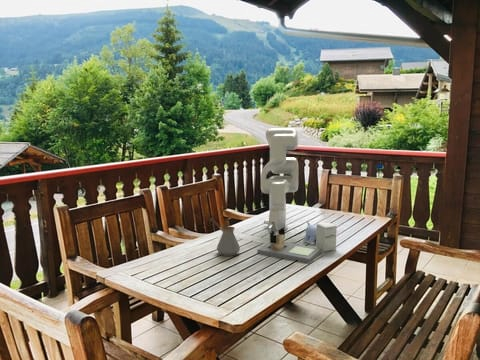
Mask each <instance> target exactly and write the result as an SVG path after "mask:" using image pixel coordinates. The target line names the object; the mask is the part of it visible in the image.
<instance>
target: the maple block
mask: <svg viewBox="0 0 480 360" xmlns="http://www.w3.org/2000/svg"><path fill="white" fill-rule="evenodd" d="M284 243H285V238H284V235H281V234H278V233H276V243H271V249H274V250H280V251H282V250H283V249H284Z"/></svg>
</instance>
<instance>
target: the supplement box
mask: <svg viewBox="0 0 480 360" xmlns="http://www.w3.org/2000/svg"><path fill="white" fill-rule="evenodd" d="M316 225H317V229H316V239H315V248H319V249H321V252H328V251H335V250H336V249H337V247H336V246H337V229H338V228H337V225H336V224H333V223H330V222H324V223H323V222H321V223H316Z"/></svg>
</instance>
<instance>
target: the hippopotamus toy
mask: <svg viewBox="0 0 480 360" xmlns="http://www.w3.org/2000/svg"><path fill="white" fill-rule="evenodd" d="M306 223H307V227H306V228H305V235H304V236H303V239H302V241H303V242H305V243H307V244H309V245H313V244H316V229H317V224H310V222H309V221H306Z"/></svg>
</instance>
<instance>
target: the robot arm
mask: <svg viewBox="0 0 480 360" xmlns="http://www.w3.org/2000/svg"><path fill="white" fill-rule="evenodd" d="M265 138H266V141H267V144H268V146H269V161H268V162H267V163H266V164H265V165H264V167H263V168H262V169H261V172H260V173H261V174H260V190H261V192H262V193H263V194H267V195H269V215H268V219H264V220H263V223H264V224H265V225H266V229H267V230H268V233H269V242H270V243H276V234H281V235H284V239H285V238H286V237H285V234H286V233H285V231H287V230H288V229H289V226H288V225H287V224H286V221H287V219H286V218H287V217H286V214H287V210H286V209H287V205H286V204H287V203H286V202H287V201H286V200H287V199H286V194H287V193H295V192H297V191H298V189H299V162H298V159H297V157H292V156H291V157H290V156H288V157H287V151H290V150H293V151H294V150H296V149H297V148H298V144H299V143H298V142H299V138H298V132H297V130H296V129H295V128H290V127H289V128H285V127H284V128H282V127H281V128H279V127H278V128H277V127H275V128H274V127H273V128H268V129H267V130H266V131H265ZM270 172H271V173H272V174H277V175H272V176H270V177H269V178H267V176H268V174H269V173H270ZM284 174H285V175H284ZM277 232H278V233H277Z"/></svg>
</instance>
